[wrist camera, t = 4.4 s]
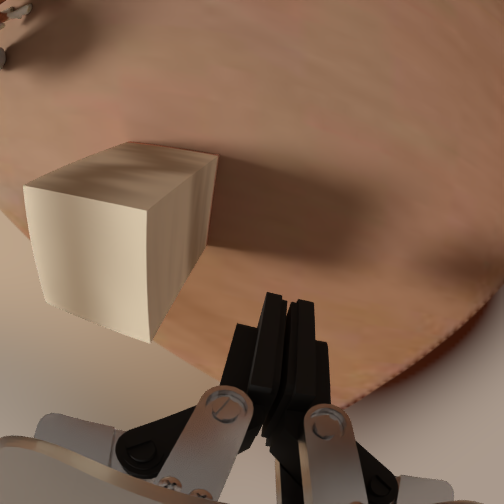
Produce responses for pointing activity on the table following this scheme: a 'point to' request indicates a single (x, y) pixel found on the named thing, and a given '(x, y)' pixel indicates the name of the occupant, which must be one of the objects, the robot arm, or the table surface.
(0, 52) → the lightbulb
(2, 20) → the bull figurine
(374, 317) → the table surface
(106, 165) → the birch block
